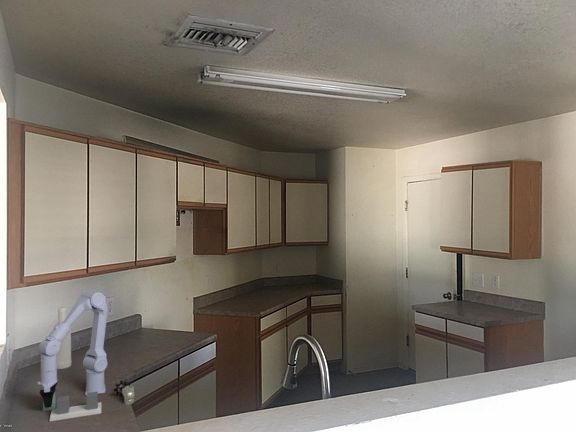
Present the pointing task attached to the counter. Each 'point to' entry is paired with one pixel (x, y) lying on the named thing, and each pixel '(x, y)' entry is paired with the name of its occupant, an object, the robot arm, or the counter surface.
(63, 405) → the rail plate
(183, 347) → the counter surface
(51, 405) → the block
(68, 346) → the bottle
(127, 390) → the valve
